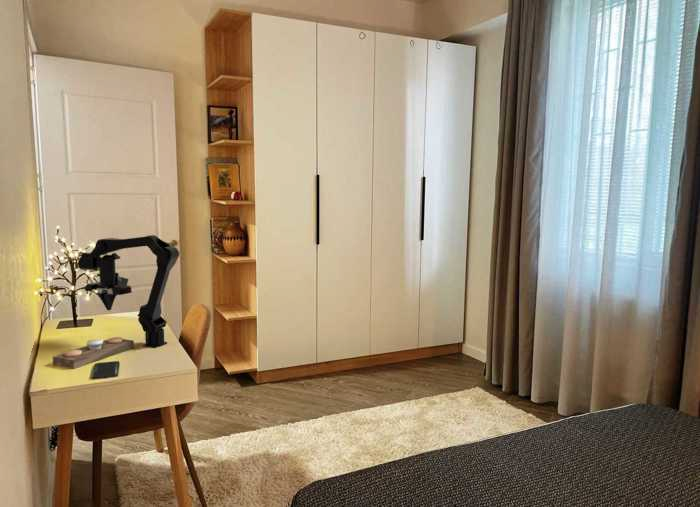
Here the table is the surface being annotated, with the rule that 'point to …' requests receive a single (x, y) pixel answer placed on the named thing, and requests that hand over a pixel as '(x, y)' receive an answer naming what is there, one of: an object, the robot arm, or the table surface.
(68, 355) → the knob
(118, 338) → the knob
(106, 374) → the phone
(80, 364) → the knob mount
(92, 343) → the middle knob
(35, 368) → the table surface
